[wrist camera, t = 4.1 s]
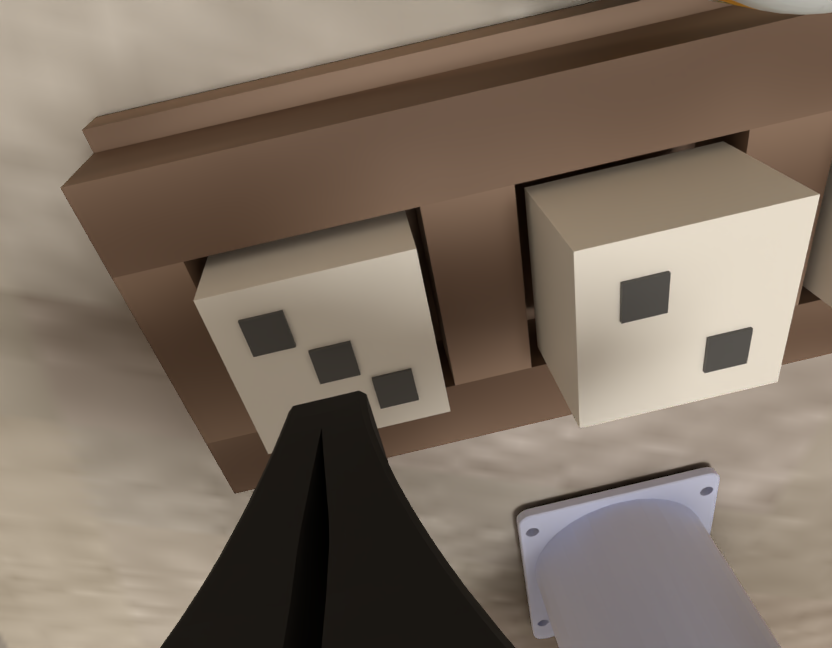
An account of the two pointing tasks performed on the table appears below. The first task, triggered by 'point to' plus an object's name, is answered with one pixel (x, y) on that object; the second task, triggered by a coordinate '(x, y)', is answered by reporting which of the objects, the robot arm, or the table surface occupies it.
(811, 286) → the key one
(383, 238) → the key three
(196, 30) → the table surface
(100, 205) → the brown wooden tray
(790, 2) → the supplement bottle
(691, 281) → the key two
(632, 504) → the robot arm
